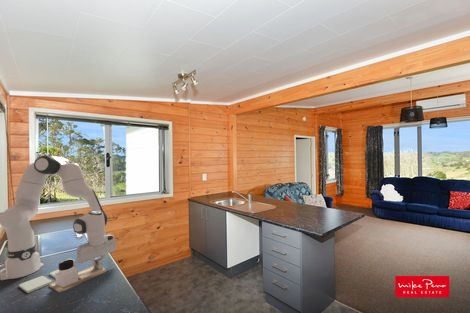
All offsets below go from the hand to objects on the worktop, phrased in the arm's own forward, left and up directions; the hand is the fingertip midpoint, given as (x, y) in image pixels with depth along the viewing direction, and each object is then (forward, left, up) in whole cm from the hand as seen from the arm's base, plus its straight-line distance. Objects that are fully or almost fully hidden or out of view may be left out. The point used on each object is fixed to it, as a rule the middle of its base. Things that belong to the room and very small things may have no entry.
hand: (98, 264), depth 132 cm
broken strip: (-14, -18, -4) cm, 23 cm away
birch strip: (0, -10, -4) cm, 11 cm away
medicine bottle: (+1, -16, -4) cm, 16 cm away
